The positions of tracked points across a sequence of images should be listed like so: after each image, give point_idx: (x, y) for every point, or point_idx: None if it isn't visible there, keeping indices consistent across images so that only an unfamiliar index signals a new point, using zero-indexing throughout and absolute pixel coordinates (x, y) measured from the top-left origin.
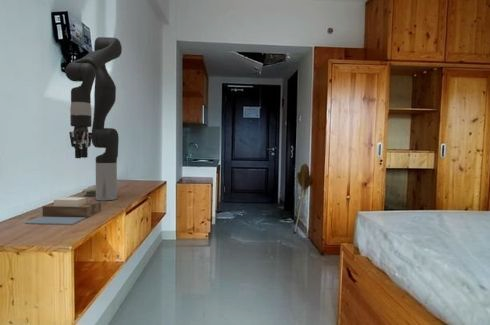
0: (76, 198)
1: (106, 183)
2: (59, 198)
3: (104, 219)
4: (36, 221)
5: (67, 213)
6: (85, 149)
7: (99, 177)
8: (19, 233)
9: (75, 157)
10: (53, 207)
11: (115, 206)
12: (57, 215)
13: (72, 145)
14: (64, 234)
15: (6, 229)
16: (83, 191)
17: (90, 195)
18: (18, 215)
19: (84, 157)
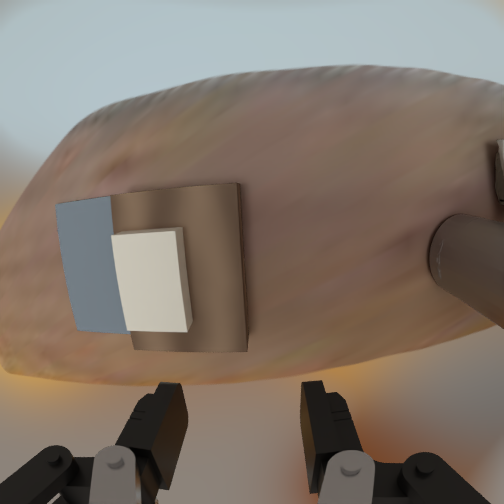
0: (156, 308)
1: (469, 293)
2: (139, 241)
3: (150, 380)
4: (69, 225)
5: None
6: (310, 476)
7: (490, 267)
8: (7, 256)
9: (160, 384)
10: None
11: (350, 337)
12: None
13: (45, 461)
14: (29, 343)
15: (19, 203)
16: (498, 144)
17: (498, 166)
18: (145, 96)
19: (301, 403)
